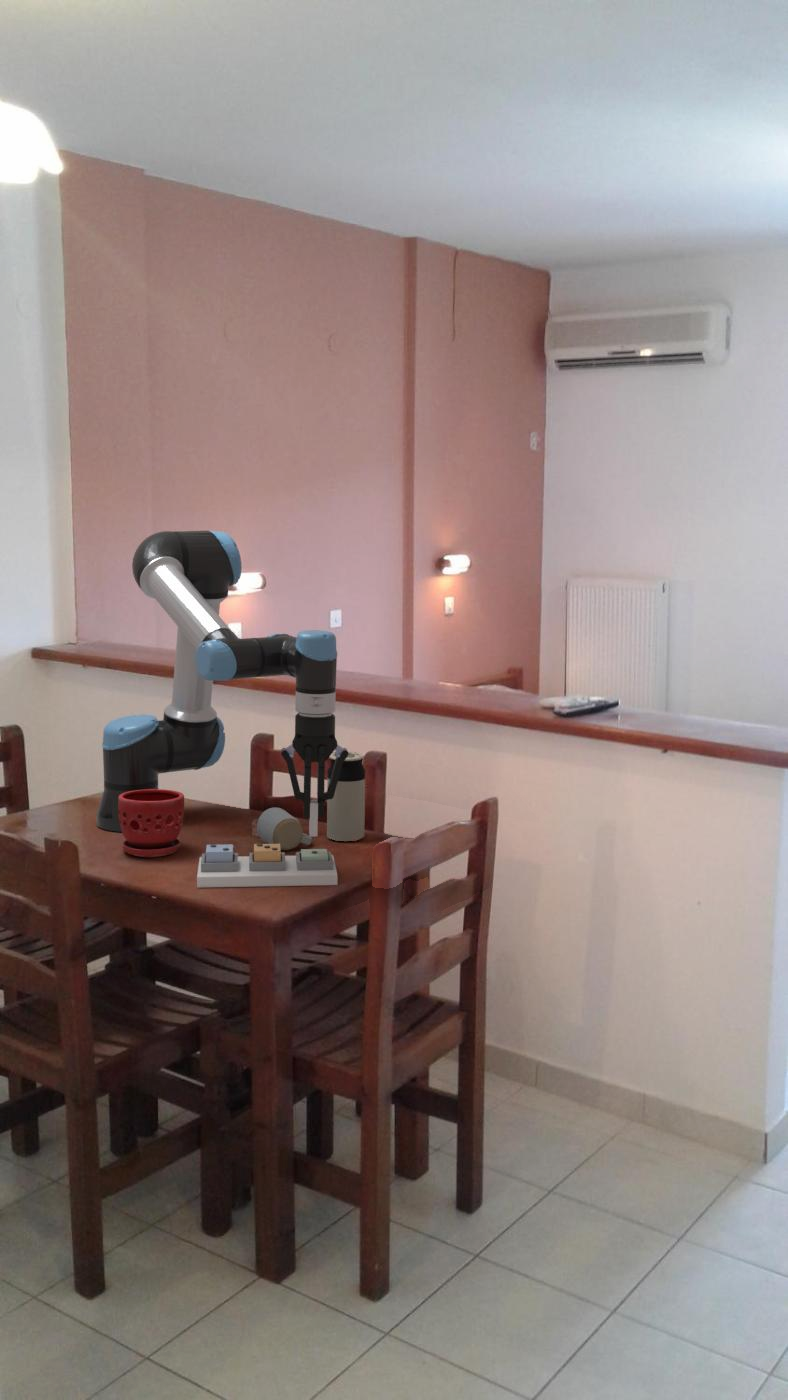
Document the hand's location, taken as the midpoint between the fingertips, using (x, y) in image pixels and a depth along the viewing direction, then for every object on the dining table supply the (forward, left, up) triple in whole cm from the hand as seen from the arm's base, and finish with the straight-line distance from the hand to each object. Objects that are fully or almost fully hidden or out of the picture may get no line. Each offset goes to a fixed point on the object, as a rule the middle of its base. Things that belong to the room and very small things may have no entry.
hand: (313, 834), depth 242 cm
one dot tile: (0, 0, -6) cm, 6 cm away
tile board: (0, -9, -8) cm, 12 cm away
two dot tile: (0, -18, -4) cm, 18 cm away
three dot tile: (0, -9, -4) cm, 10 cm away
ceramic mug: (-20, -5, -8) cm, 22 cm away
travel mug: (-26, +8, -8) cm, 28 cm away
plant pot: (-18, -32, -8) cm, 37 cm away
